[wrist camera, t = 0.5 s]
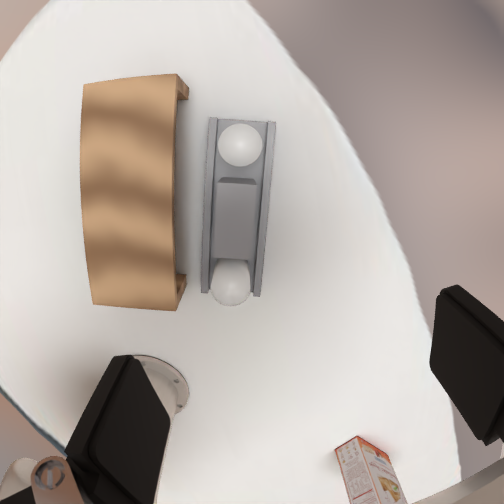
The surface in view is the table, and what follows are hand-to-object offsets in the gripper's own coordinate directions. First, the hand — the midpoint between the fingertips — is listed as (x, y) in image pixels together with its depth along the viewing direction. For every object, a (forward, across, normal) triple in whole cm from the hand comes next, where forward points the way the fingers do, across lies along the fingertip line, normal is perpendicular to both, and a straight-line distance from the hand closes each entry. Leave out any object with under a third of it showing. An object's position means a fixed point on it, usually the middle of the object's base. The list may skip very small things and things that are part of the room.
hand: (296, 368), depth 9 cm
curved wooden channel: (+29, +13, -5) cm, 32 cm away
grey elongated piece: (+29, +3, 0) cm, 29 cm away
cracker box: (+28, -11, +53) cm, 61 cm away
